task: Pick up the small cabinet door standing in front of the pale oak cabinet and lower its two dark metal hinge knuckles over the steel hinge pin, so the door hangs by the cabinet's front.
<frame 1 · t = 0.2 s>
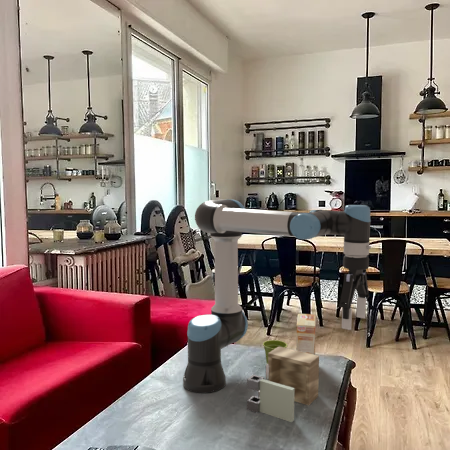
hand: (353, 323, 141), 28 cm above the table, tool pointing down, fingers open, 13 cm apart
coffeecake box: (305, 369, 173), on the table
cabinet: (292, 394, 152), on the table
plant pot: (274, 366, 176), on the table
door: (276, 415, 139), on the table
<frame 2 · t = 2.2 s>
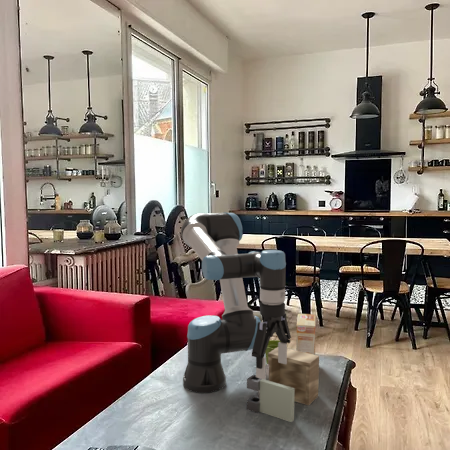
hand: (272, 370, 138), 14 cm above the table, tool pointing down, fingers open, 13 cm apart
nothing on the table moved.
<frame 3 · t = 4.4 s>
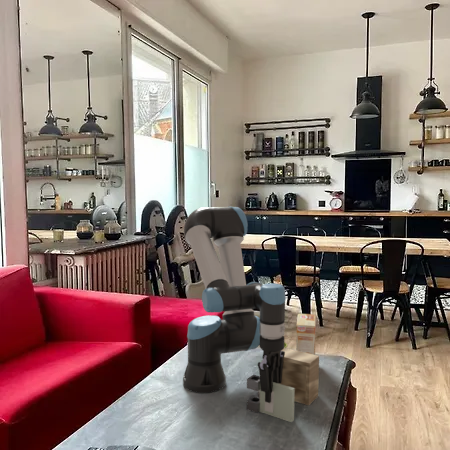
hand: (271, 409, 139), 1 cm above the table, tool pointing down, fingers closed on door, 2 cm apart
door: (276, 415, 139), on the table, touching gripper
everything else where it was.
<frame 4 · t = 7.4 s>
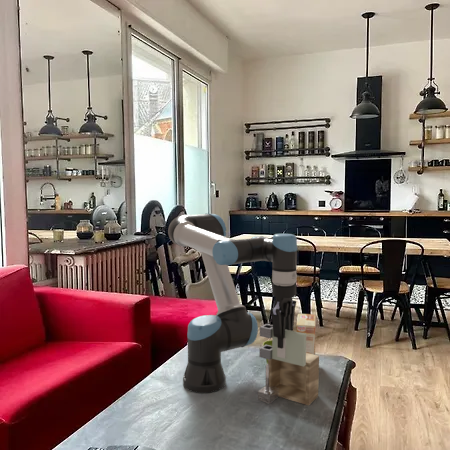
hand: (283, 355, 144), 16 cm above the table, tool pointing down, fingers closed on door, 2 cm apart
door: (288, 361, 143), point 15 cm above the table, touching gripper
everything else where it was.
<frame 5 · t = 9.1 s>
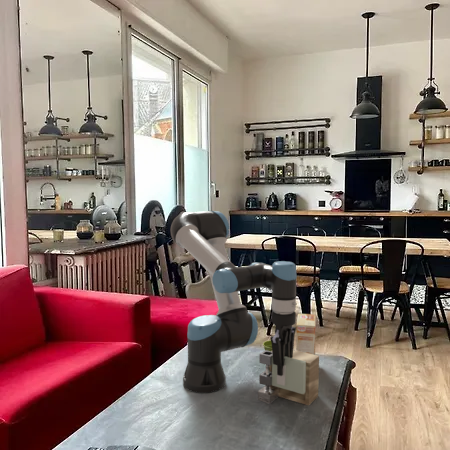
hand: (282, 382, 145), 7 cm above the table, tool pointing down, fingers closed on door, 2 cm apart
door: (288, 388, 144), point 6 cm above the table, touching gripper
everything else where it was.
when the fingers open (6 cm above the table, at t = 10.4 s): door drops 2 cm, resting on cabinet.
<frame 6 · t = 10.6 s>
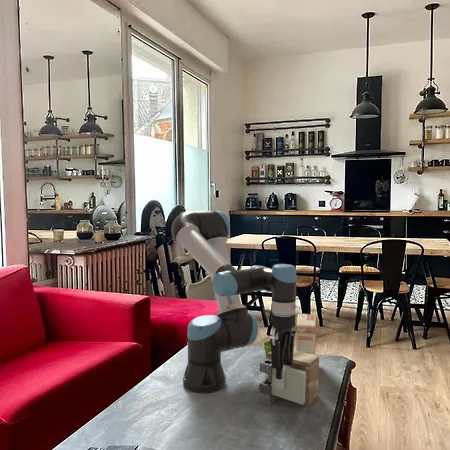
hand: (282, 386, 144), 7 cm above the table, tool pointing down, fingers open, 2 cm apart
door: (288, 398, 144), point 3 cm above the table, touching cabinet, gripper
everything else where it was.
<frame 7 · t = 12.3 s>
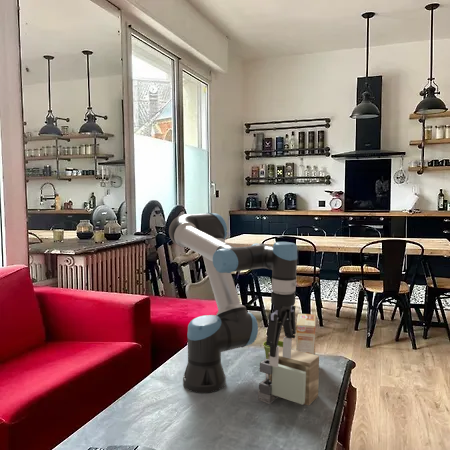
hand: (280, 361, 144), 14 cm above the table, tool pointing down, fingers open, 8 cm apart
door: (287, 398, 144), point 3 cm above the table, touching cabinet
everything else where it was.
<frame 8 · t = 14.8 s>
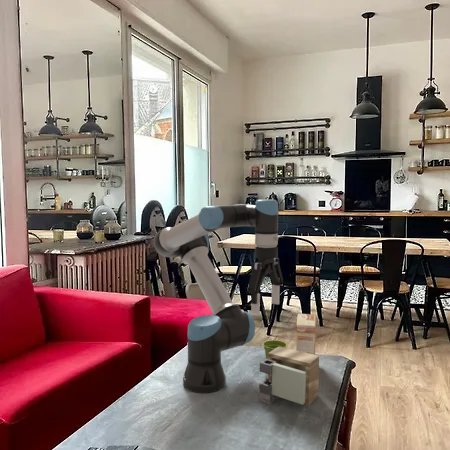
hand: (265, 308, 153), 29 cm above the table, tool pointing down, fingers open, 13 cm apart
nothing on the table moved.
at the end: door 0.9 cm from the target spot, point 2.9 cm above the table; door tilted 1°; the gripper is holding nothing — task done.
